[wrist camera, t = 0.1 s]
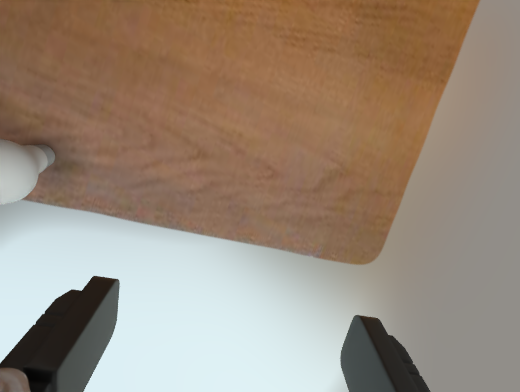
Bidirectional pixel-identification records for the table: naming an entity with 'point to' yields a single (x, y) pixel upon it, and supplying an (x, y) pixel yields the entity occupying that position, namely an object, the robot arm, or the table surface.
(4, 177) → the lightbulb
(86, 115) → the table surface
